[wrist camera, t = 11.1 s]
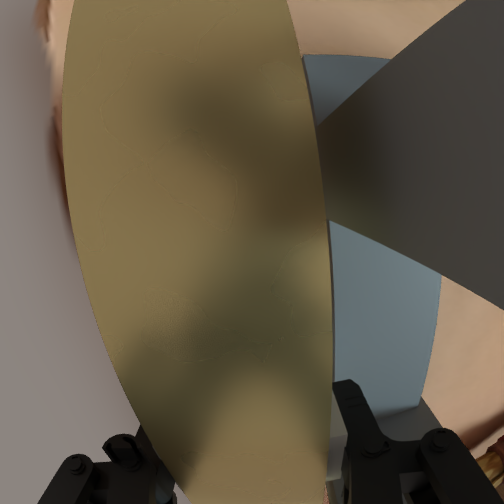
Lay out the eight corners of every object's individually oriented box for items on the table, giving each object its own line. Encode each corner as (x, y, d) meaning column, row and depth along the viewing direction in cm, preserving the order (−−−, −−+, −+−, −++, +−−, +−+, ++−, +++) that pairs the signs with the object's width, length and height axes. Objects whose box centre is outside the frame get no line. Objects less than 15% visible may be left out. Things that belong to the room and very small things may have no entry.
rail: (147, 61, 8) (77, -12, 3) (261, 40, 8) (266, -60, 3) (249, 512, 13) (248, 565, 8) (305, 506, 13) (312, 560, 8)
